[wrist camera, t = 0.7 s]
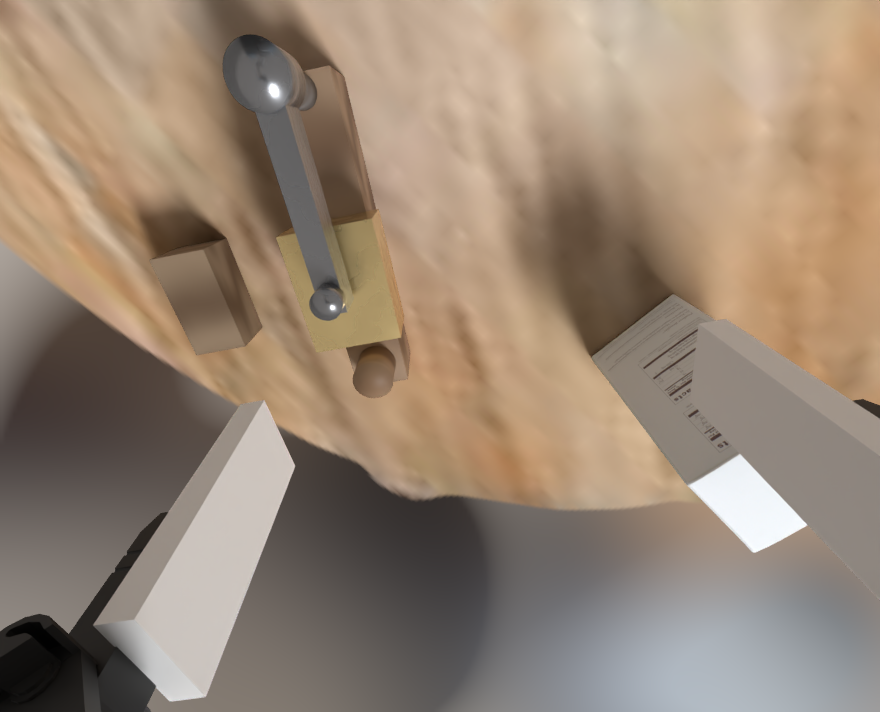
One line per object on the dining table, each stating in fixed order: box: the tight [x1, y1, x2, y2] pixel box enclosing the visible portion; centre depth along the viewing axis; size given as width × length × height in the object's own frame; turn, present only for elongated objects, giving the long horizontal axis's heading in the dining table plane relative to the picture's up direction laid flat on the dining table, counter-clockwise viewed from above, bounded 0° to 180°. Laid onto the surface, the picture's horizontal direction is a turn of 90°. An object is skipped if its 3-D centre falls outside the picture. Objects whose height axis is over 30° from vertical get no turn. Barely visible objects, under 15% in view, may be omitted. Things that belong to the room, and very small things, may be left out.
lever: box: [223, 35, 354, 321], centre depth 23 cm, size 14×3×4 cm, turn 10°
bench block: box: [149, 238, 262, 355], centre depth 35 cm, size 8×4×4 cm, turn 10°
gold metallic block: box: [276, 209, 404, 353], centre depth 29 cm, size 8×6×4 cm
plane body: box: [299, 65, 410, 398], centre depth 31 cm, size 22×4×9 cm, turn 10°
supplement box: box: [592, 294, 807, 553], centre depth 33 cm, size 10×9×17 cm
